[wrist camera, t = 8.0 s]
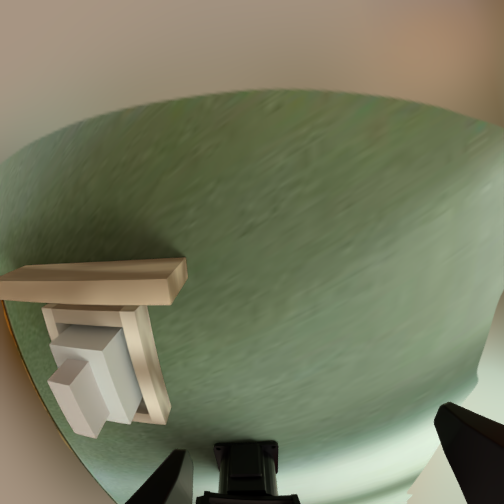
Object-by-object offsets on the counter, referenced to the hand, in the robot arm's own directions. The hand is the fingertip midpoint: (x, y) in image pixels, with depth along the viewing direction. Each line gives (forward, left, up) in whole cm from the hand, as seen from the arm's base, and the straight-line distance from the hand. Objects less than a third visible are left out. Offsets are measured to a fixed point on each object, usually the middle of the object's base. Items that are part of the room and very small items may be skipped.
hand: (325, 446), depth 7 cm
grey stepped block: (-5, +14, -13) cm, 20 cm away
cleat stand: (-3, +15, -13) cm, 20 cm away
